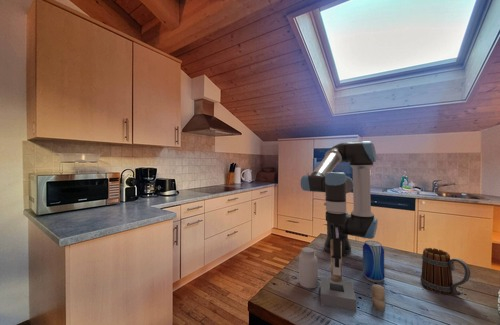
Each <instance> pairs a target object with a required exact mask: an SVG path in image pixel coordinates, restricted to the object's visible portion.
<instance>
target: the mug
mask: <svg viewBox="0 0 500 325" xmlns="http://www.w3.org/2000/svg"><path fill="white" fill-rule="evenodd" d="M421 256H422V257H421V259H422V262H421V263H422V264H421V275H420V283H421V285H422V286H423V287H424V288H426V289H427V290H429V291H431V292H433V293H434V292H435V293H437V294H440V295H451V294H454V295H456V296H462V295H463V294H464V291H462V290H457V287H460V286H461V285H464V284H466V283H467V282H468V281H469V280H470V277H471V268H470V266H469V265H468V264H467V262H466V261H464V260H463V259H460V258H457V257H454V258H451V255H450V254H449V253H448V252H447V251H444V250H443V249H438V248H434V247H433V248H432V247H428V248H427V247H425V248H423V250H422V255H421ZM455 262H456V263H458V264H460V265H461V266H462V267H463V270H464V275H463V277H462V279H461V280H460V281H458V282H455V283H454V282H453V275H452V274H453V271H455V270H457V268H456V267H455V265H454V263H455Z"/></svg>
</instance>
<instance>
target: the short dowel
mask: <svg viewBox="0 0 500 325" xmlns="http://www.w3.org/2000/svg"><path fill="white" fill-rule="evenodd" d="M385 295H386V290H385V287H383V286H382V285H380V284H372V285H371V306H372V307H373V309H375V310H377V311H381V312H383V311H385V310H386V296H385Z"/></svg>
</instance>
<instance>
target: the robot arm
mask: <svg viewBox="0 0 500 325" xmlns="http://www.w3.org/2000/svg"><path fill="white" fill-rule="evenodd" d="M376 162H377V152H376V148H375V145H374V142H372V141H370V140H365V141H364V140H360V141H350V142H340V143H338V144H336V145H333V146H332V147H330V148H329V149H328V150H327V151H326V152H325V153H324V157H323V159H322V160H321V161H320V162H319V164H317V166H316V167H315V168H314V170H313V171H312V172H311V174H305V175H302V176H301V178H300V182H299V185H300V188H301V189H302V191H306V192H314V193H316V192H317V193H324V194H325V202H323V205H324V206H325V221H326V239H325V242H324V245H323V247H324V250H325V251H326V252H328V253H329V254H331V244H330V240H331V239H333V256H331V255H330V259H331V258H333V275H339V276H341V242H342V256H346V255H350V254H351V253H352V247H351V243H350V240H349V236H354V237H358V238H363V239H369V240H374V238H375V237H376V234H377V229H378V218H377V217H375V214H374V212H372V207H371V205H372V204H371V199H372V198H371V168H372V167H373V166H374V163H376ZM341 163H349V166H350V167H351V168H352V178H351V177H350V176H347V175H346V173H345V172H343V171H342V172H340V171H336V172H335V171H334V169H335V168H336V167H337V166H338V165H339V164H341ZM351 191H353V192H352V195H353V198H352V199H353V202H352V203H353V209H352V211H350V214H348V211H347V194H348V193H349V194H350V192H351Z"/></svg>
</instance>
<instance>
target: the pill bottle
mask: <svg viewBox="0 0 500 325" xmlns="http://www.w3.org/2000/svg"><path fill="white" fill-rule="evenodd" d="M318 263H319V260H318V257H317V256H316V255H315V249H314V248H312V247H308V246H306V247H302V248H301V254H299V256H298V277H299V278H298V281H299V284H300V286H302V287H304V288H306V289H315V288H317V287H318V284H319V276H318V275H319V269H318V268H319V264H318Z"/></svg>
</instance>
